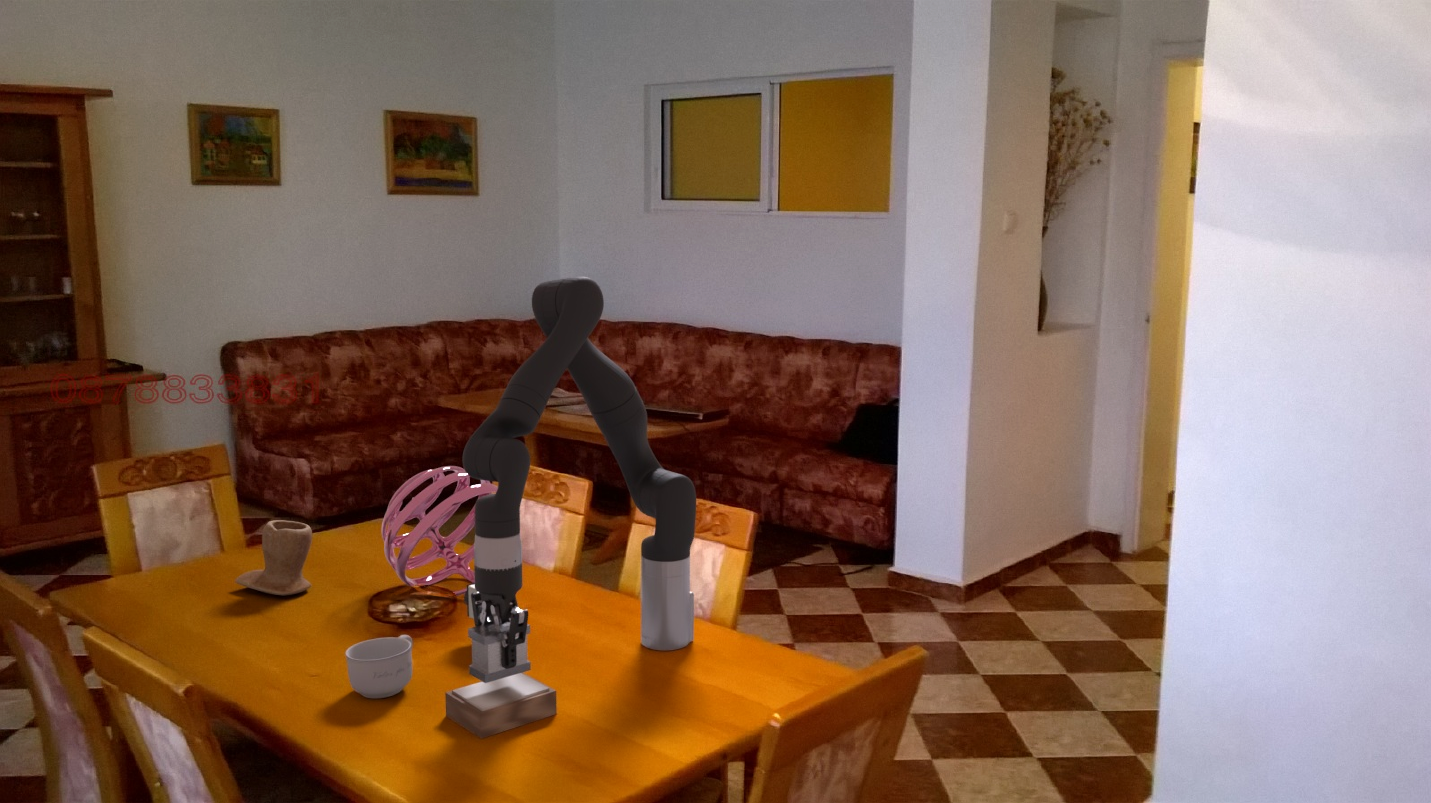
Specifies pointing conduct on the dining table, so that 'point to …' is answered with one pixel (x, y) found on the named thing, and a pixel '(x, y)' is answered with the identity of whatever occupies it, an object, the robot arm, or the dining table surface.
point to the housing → (494, 654)
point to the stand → (500, 704)
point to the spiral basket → (432, 525)
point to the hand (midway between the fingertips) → (500, 661)
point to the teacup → (380, 666)
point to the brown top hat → (281, 559)
